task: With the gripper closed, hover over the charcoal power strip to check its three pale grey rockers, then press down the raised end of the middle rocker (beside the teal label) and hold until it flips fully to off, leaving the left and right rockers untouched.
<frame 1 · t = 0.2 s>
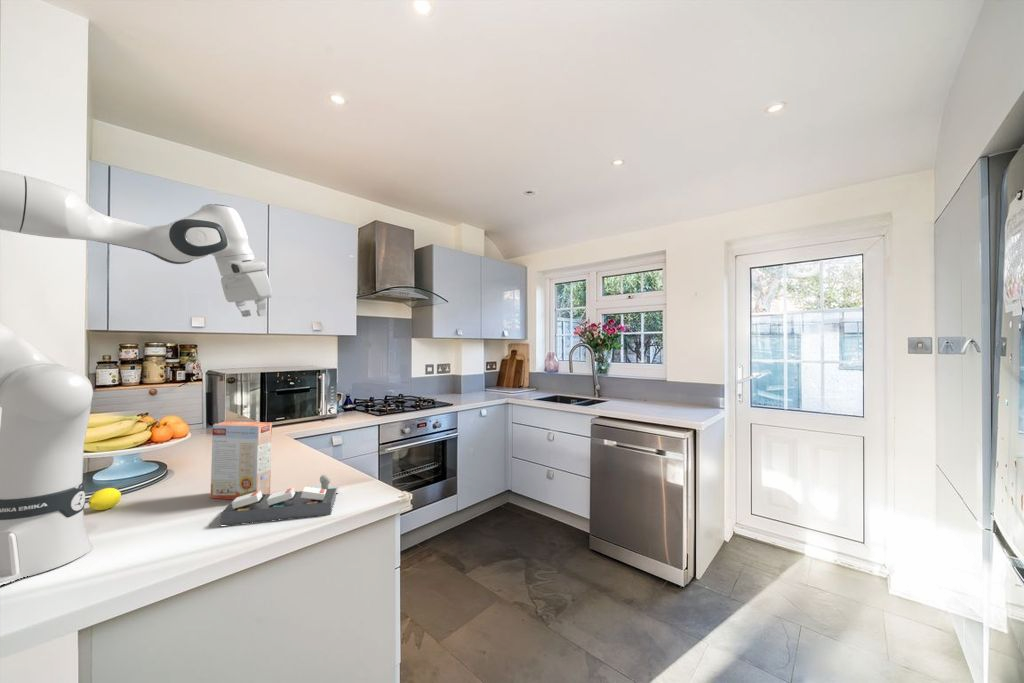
hand: (254, 316, 108), 52 cm above the countertop, tool tilted 20°, fingers open, 8 cm apart
rocker 3: (314, 493, 100), point 5 cm above the countertop, hinge at 14.0°
cracker box: (240, 496, 110), on the countertop
rocker 2: (281, 496, 98), point 5 cm above the countertop, hinge at -14.0°
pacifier: (326, 495, 112), on the countertop
lemon: (104, 510, 99), on the countertop
rocker 1: (247, 499, 95), point 5 cm above the countertop, hinge at -14.0°
power strip: (283, 511, 100), on the countertop
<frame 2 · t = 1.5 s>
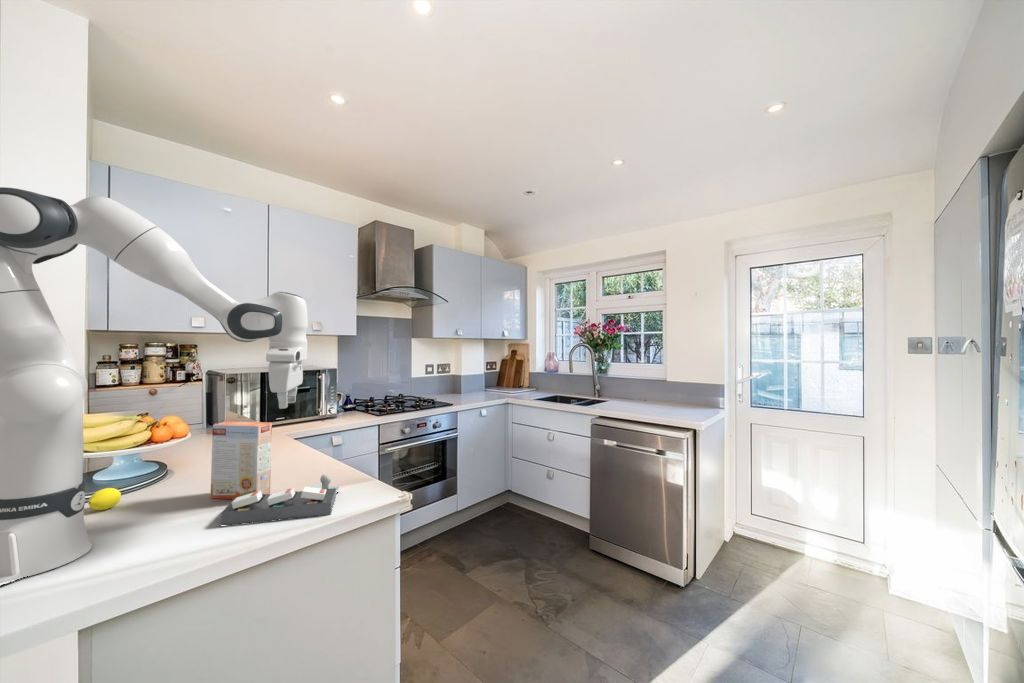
hand: (287, 405, 102), 27 cm above the countertop, tool pointing down, fingers open, 8 cm apart
nothing on the countertop moved.
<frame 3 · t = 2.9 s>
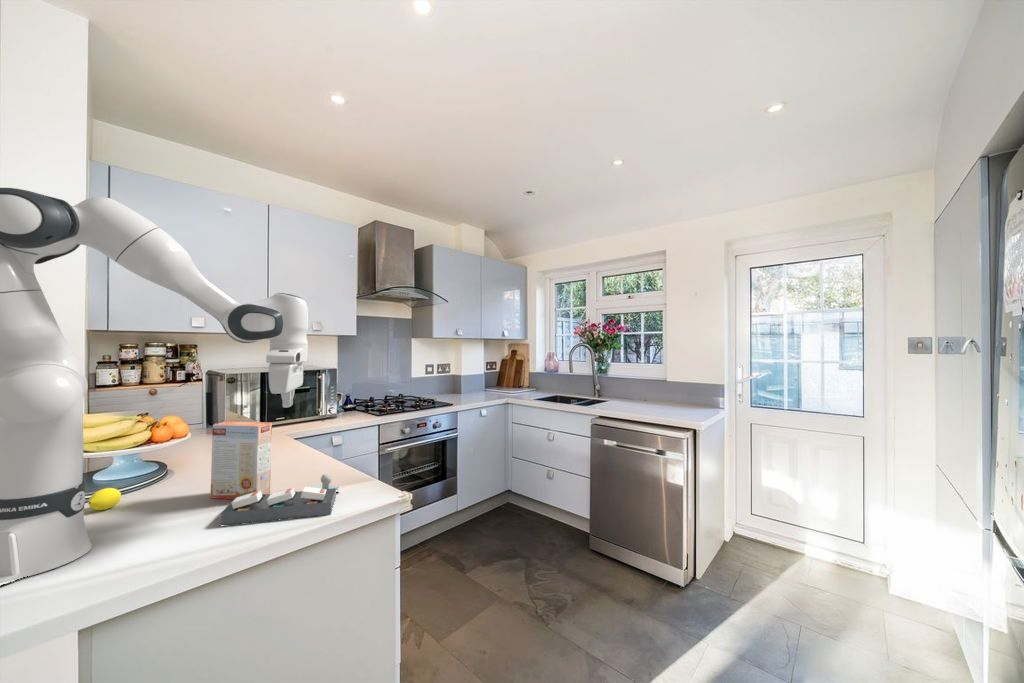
hand: (287, 406, 102), 27 cm above the countertop, tool pointing down, fingers closed
nothing on the countertop moved.
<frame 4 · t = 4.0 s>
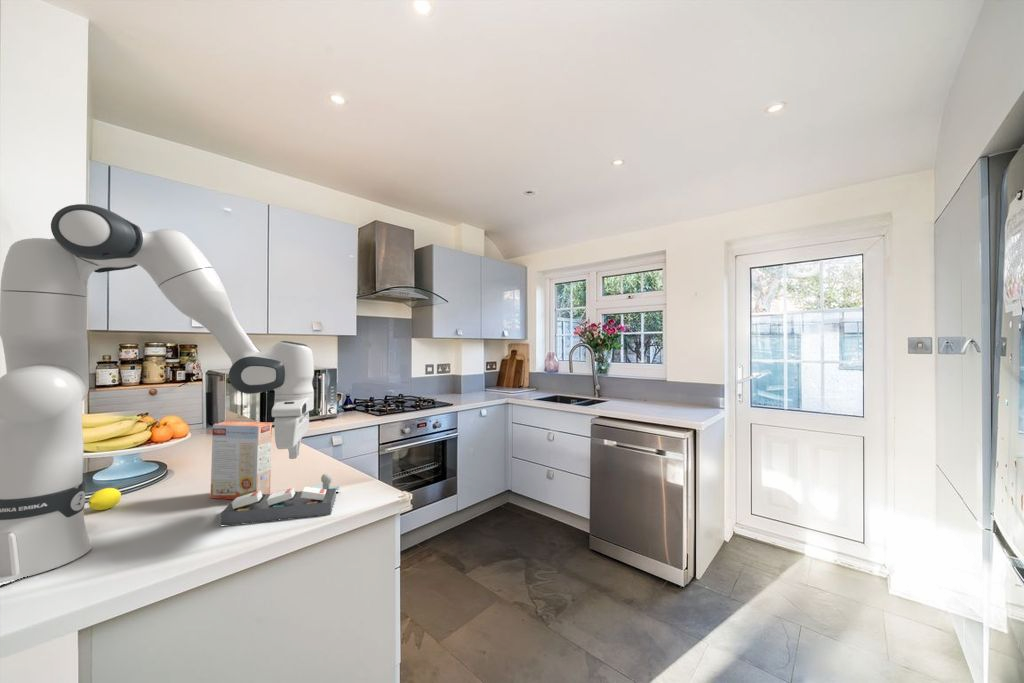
hand: (294, 457, 99), 15 cm above the countertop, tool pointing down, fingers closed
nothing on the countertop moved.
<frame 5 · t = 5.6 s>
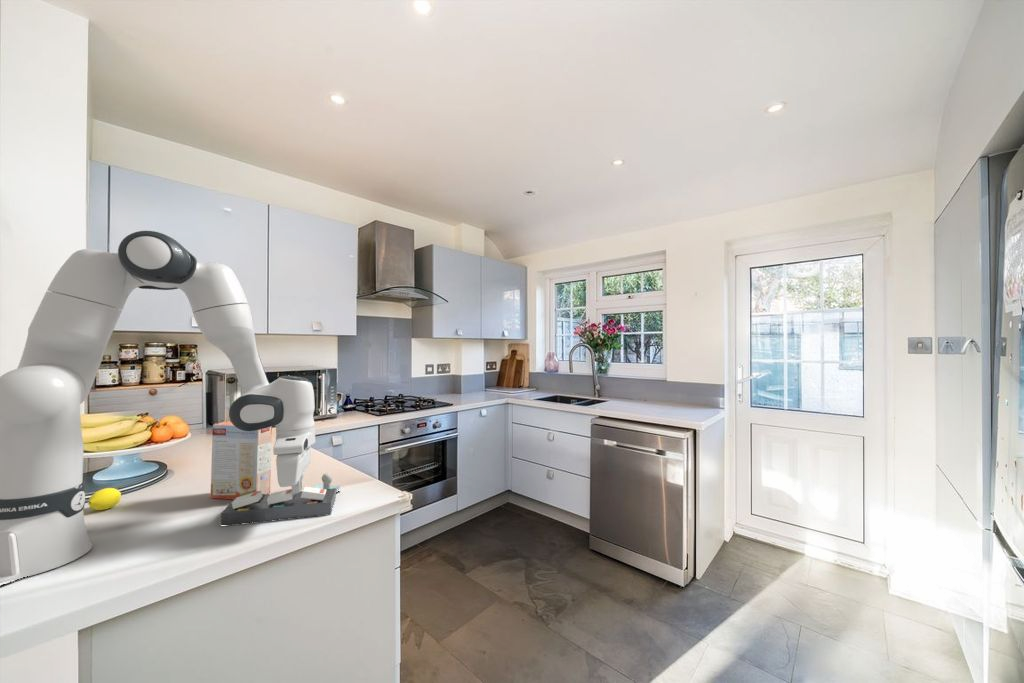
hand: (297, 491, 99), 6 cm above the countertop, tool pointing down, fingers closed, pressing on rocker 2
rocker 2: (281, 496, 98), point 5 cm above the countertop, hinge at -8.2°, touching gripper
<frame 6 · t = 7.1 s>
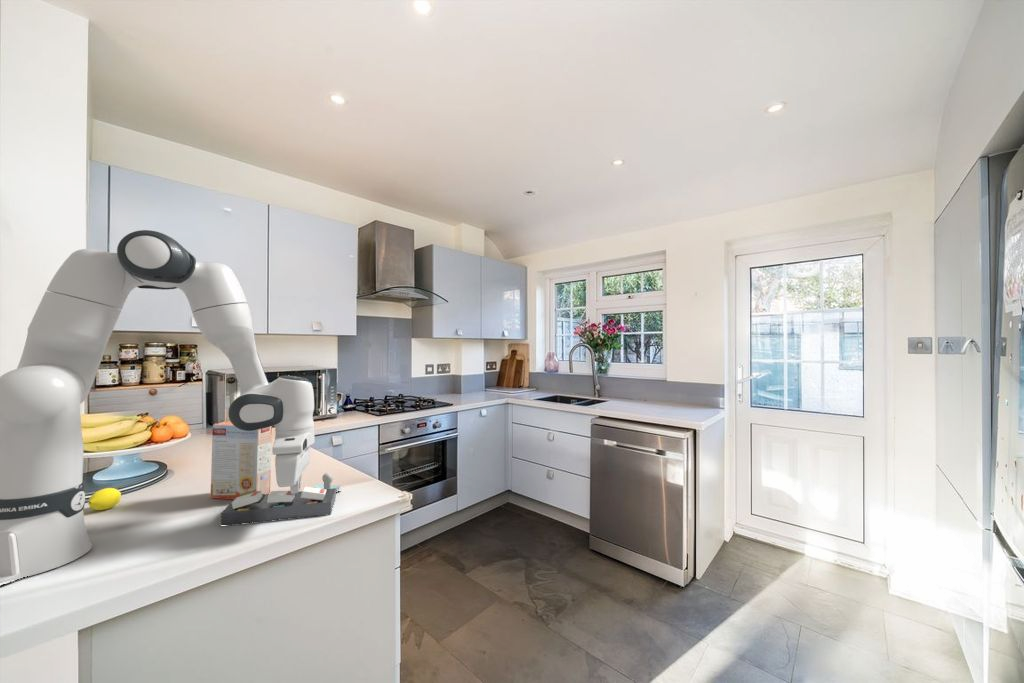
hand: (295, 491, 99), 6 cm above the countertop, tool pointing down, fingers closed, pressing on rocker 2
rocker 2: (281, 496, 98), point 5 cm above the countertop, hinge at 3.6°, touching gripper
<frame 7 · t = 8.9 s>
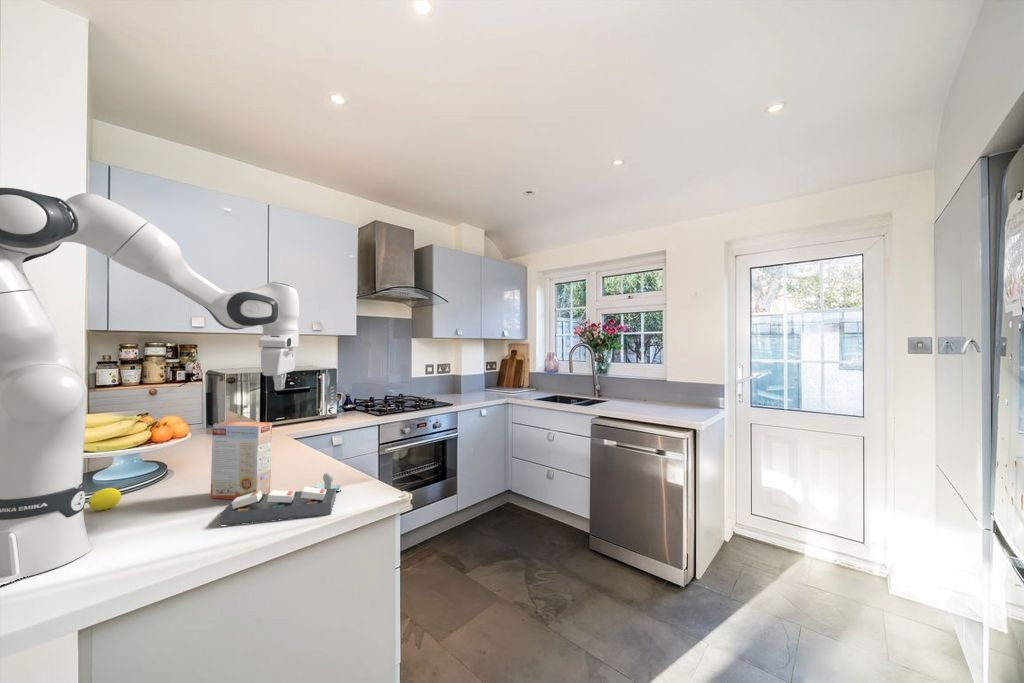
hand: (279, 389, 108), 31 cm above the countertop, tool pointing down, fingers closed
rocker 2: (281, 496, 98), point 5 cm above the countertop, hinge at 8.5°
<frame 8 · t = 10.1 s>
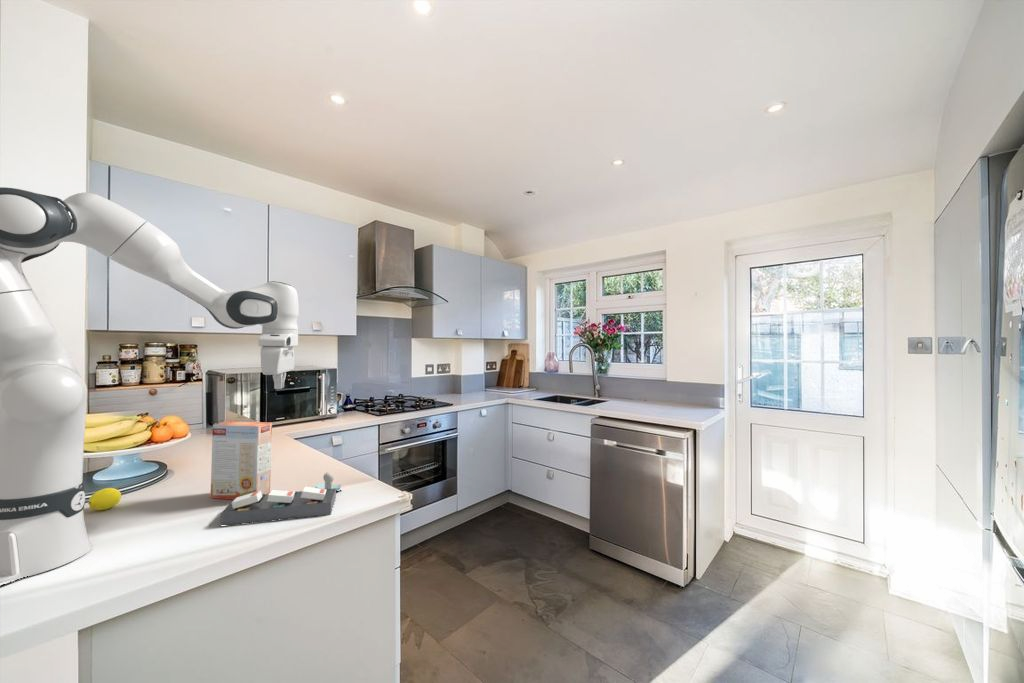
hand: (279, 388, 108), 31 cm above the countertop, tool pointing down, fingers closed
rocker 2: (281, 496, 98), point 5 cm above the countertop, hinge at 10.4°
at the end: rocker 2 at +11° (first picture: -14°); rocker 1 at -14° (first picture: -14°); rocker 3 at +14° (first picture: +14°) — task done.
